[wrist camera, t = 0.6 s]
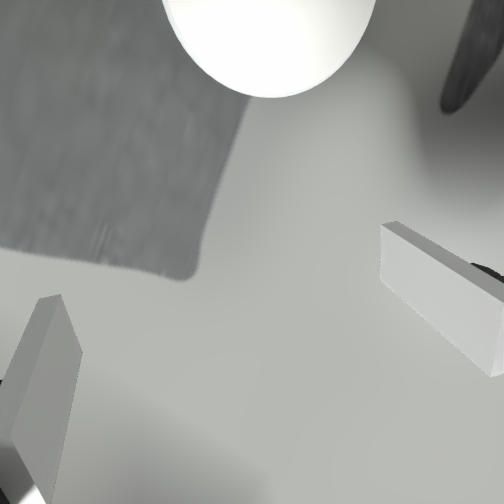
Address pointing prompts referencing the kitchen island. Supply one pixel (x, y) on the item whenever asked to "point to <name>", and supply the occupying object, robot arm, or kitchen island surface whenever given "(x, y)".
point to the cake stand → (269, 40)
